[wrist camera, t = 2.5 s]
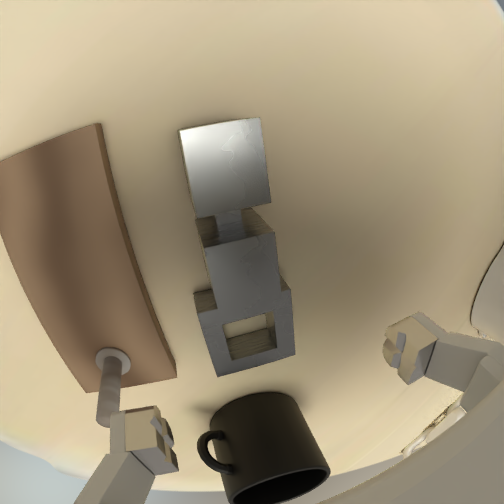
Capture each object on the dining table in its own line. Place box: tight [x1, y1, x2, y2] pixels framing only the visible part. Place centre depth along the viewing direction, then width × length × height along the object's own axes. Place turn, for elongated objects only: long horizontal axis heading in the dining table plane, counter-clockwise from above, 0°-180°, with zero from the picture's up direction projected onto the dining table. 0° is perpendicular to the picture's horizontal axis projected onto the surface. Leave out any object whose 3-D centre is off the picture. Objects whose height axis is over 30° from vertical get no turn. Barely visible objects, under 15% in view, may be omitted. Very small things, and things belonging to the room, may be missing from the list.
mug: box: [197, 393, 330, 504], centre depth 23 cm, size 9×12×9 cm
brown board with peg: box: [0, 124, 177, 428], centre depth 14 cm, size 8×18×7 cm, turn 8°
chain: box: [403, 392, 466, 459], centre depth 46 cm, size 30×6×6 cm, turn 139°
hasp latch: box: [178, 117, 295, 377], centre depth 18 cm, size 16×6×4 cm, turn 8°
